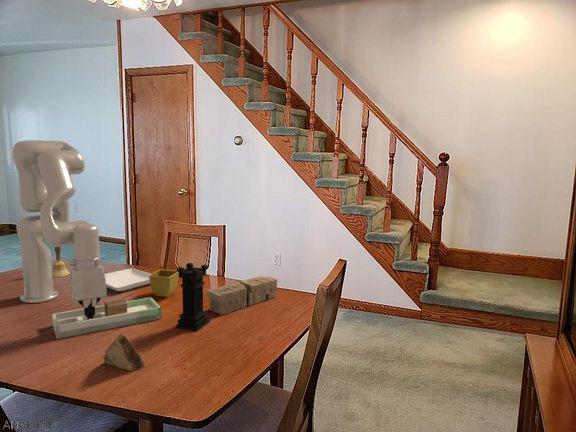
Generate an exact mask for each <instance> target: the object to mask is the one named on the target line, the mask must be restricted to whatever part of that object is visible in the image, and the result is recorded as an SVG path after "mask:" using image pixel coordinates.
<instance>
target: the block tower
mask: <svg viewBox="0 0 576 432" xmlns="http://www.w3.org/2000/svg"><path fill="white" fill-rule="evenodd" d="M277 289H278V279H277V278H275V277H271V276H266V277H265V276H263V275H259V276H256V277H252V278H249V279H246V280H245V279H244V280H241V281H240V282H233V283H231V284H225V285H222V286H219V287H216V288H212V289H210V288H209V289H208V288H207V289H206V298H209V311H212V312H213V313H217V314H218V315H220V316H223V315H228V314H230V313H232V312H235V310H236V311H237V310H241V309H245V308H247V306H248V305H250V306H252V304H253V305H255V303H256V304H258V302H259V303H261V302H260V301H262V302H265V301H266V300H271V299H274V298H273V297H275V298H277V295H278V292H277V291H278V290H277ZM266 298H267V299H266ZM270 298H271V299H270ZM264 300H265V301H264ZM246 304H247V305H246ZM244 307H245V308H244ZM240 308H241V309H240ZM229 312H230V313H229Z"/></svg>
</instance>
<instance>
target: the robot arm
mask: <svg viewBox="0 0 576 432" xmlns="http://www.w3.org/2000/svg"><path fill="white" fill-rule="evenodd" d="M11 154H12V160H13V163H14V165H15V168H16V171H17V174H18V183H19V184H18V187H19V190H18V191H19V201H20V202H19V203H20V207H21V209H22V211H24V212H26V213H40V214H37V215H29V216H25V217H22V218H20V219H19V220H18V221H17V222H16V232H17V236H18V240H19V245H20V248H21V249H20V250H21V261H22V262H21V263H22V265H21V266H22V274H23V275H22V276H23V289H24V290H23V291H24V293H22V294H21V295H20V296H19V300H20V301H21V302H22V303H29V304H33V303H34V304H35V303H42V302H43V303H44V302H47V301H52V300H54V299H55V298H57V297H58V296H59V291H58V290H56V289H54V281H53V277H52V270H53V267H52V266H53V265H52V253H51V250H50V248H49V247H48V246H47V245H46V244H45V243H44V241H45V242H46V243H47V244H48V245H49V246H51V247H53V248H54V247H60V246H61V247H65V246H71V245H72V247H73V259H72V261H69V262H68V266H70V267H71V266H72V267H73V268H72V269H71V273H70V275H71V276H70V294H71V297H70V302H71V303H72V304H79V305H81V306H82V307H83V309H84V313H85V316H87V318H88V319H90V318H92V319H93V315H95V307H96V306H97V304H98V303H99V302H100V301H102V300H104V299H107V297H108V295H107V288H106V280H105V274H106V273H105V269H104V266H103V265H102V264H101V259H100V258H101V253H100V252H101V251H100V235H99V234H100V233H99V232H100V231H99V227H98V226H97V225H96V224H93V223H92V224H91V223H90V222H89V221H87V220H74V221H73V220H72V221H70V202H69V199H71V198H72V197H74V195H75V193H76V187H75V184H74V182H73V178H72V176H71V175H80V174H82V173H83V172H84V170H85V168H86V167H85V165H86V163H85V159H84V156H83V155H82V154H81V152H80V151H79V150H78V149H77V148H75V147H73V146H72V145H71V144H69V143H68V142H65V141H61V140H39V139H37V140H36V139H35V140H34V139H33V140H32V139H31V140H30V139H29V140H28V139H27V140H21V141H20V140H19V141H17V142H15V143H14V145H13V147H12V153H11ZM88 300H90V302H89V303H88Z"/></svg>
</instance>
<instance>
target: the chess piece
mask: <svg viewBox="0 0 576 432" xmlns="http://www.w3.org/2000/svg"><path fill="white" fill-rule="evenodd" d="M208 269H209V266H208V264H202V265H201V266H200V267H196V266H194V263H193V262H188V263H186V265H185V267H183V266H178V267H177V268H176V271H177V272H179V277H178V279H179V278H180V279H181V281H182V283H181V284H180V288H182V313H181V314H179V317H178V318H179V319H177V324H175V328H177V329H181V330H182V329H183V330H188V331H193V332H194V331H195V332H198V331H200V330H202V329H203V327H205V326H207V325H208V324H210V321H211V320H210V319H209V316H208V314H207V310H206V311H205V310H204V285H205V283H206V282H205V281H204V277H206V276H207V270H208Z"/></svg>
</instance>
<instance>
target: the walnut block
mask: <svg viewBox="0 0 576 432" xmlns="http://www.w3.org/2000/svg"><path fill="white" fill-rule="evenodd" d="M103 303H104V304H103V305H104V307H105V315H106V316H112V315H117V314H123V313H127V303H126V300H125V299H124V298H123V297H121V298H114V299H108V300H104V301H103Z"/></svg>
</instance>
